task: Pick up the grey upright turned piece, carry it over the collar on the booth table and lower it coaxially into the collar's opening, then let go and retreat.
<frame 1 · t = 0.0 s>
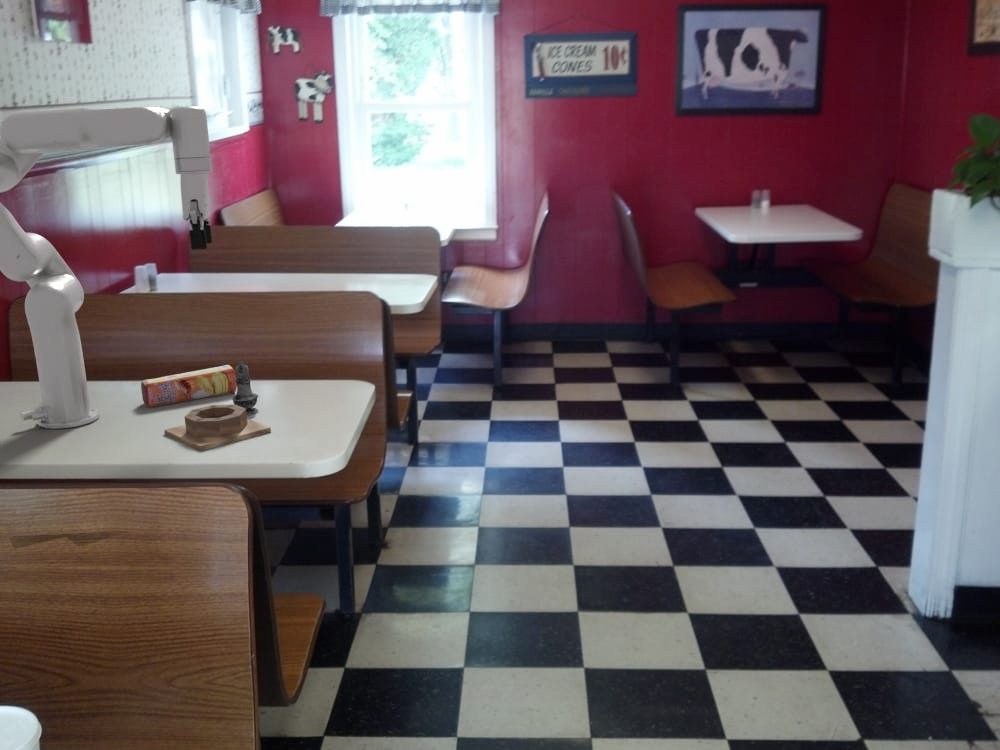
hand: (202, 246, 221), 37 cm above the table, tool pointing down, fingers open, 9 cm apart
collar: (217, 433, 214), on the table
snack package: (191, 400, 241), on the table
grey upright turned piece: (246, 413, 228), on the table
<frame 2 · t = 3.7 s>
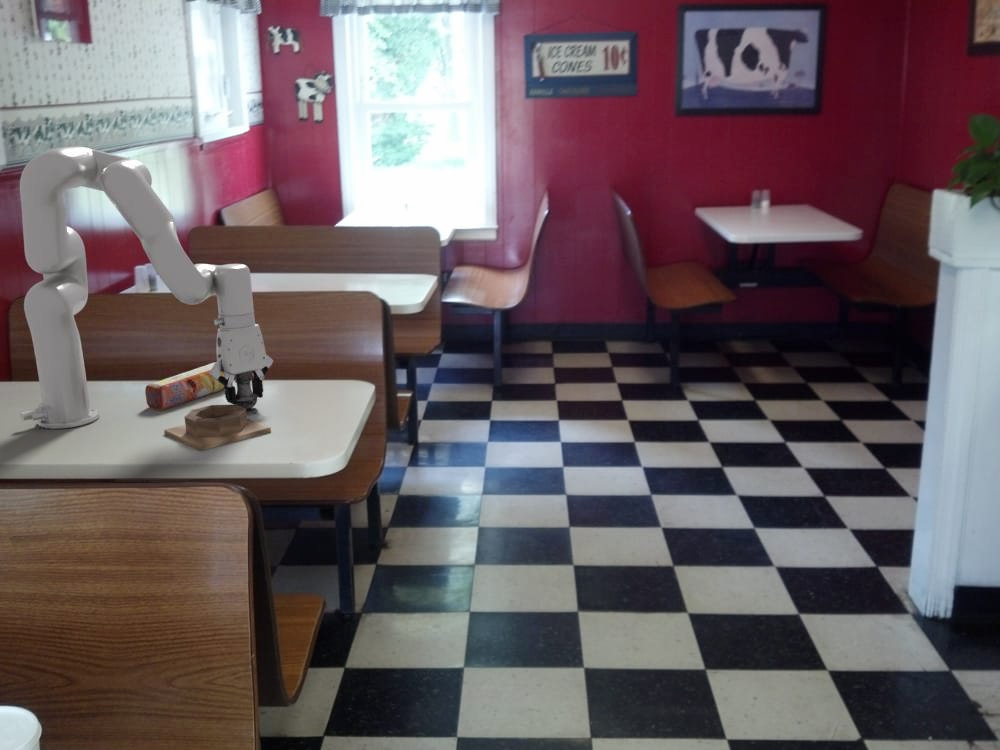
hand: (245, 398, 228), 3 cm above the table, tool pointing down, fingers closed on grey upright turned piece, 5 cm apart
grey upright turned piece: (246, 412, 228), on the table, touching gripper
when the fingers open (5 cm above the table, at t = 9.5 s): grey upright turned piece drops 1 cm, resting on collar.
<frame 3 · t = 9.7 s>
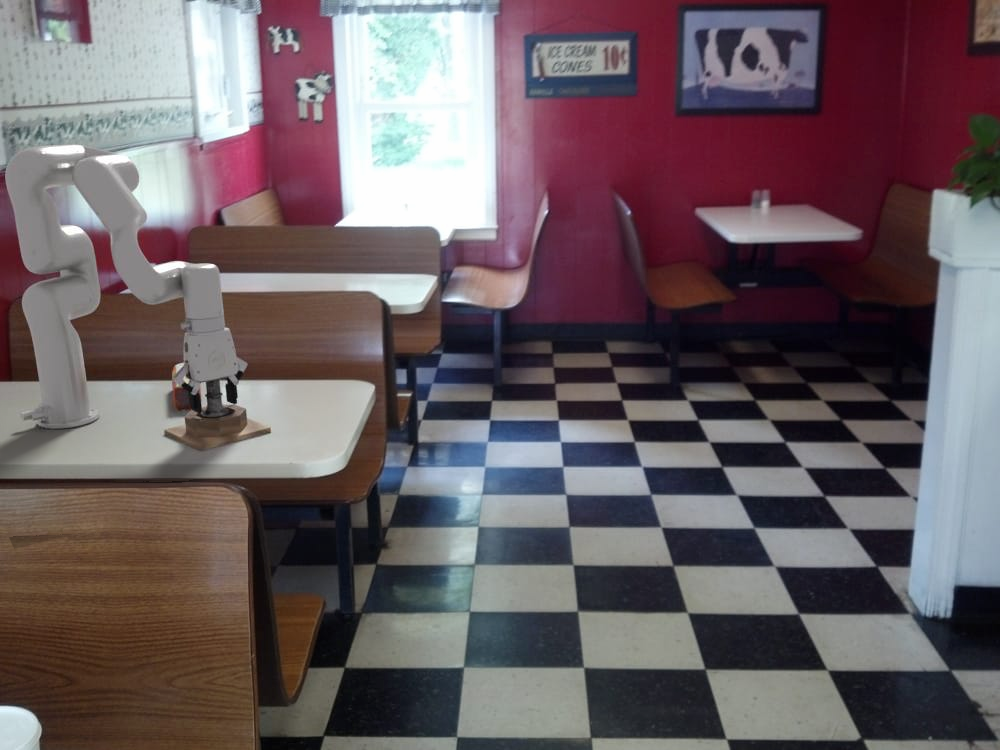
hand: (214, 406, 213), 6 cm above the table, tool pointing down, fingers open, 7 cm apart
grey upright turned piece: (216, 429, 214), point 1 cm above the table, touching collar
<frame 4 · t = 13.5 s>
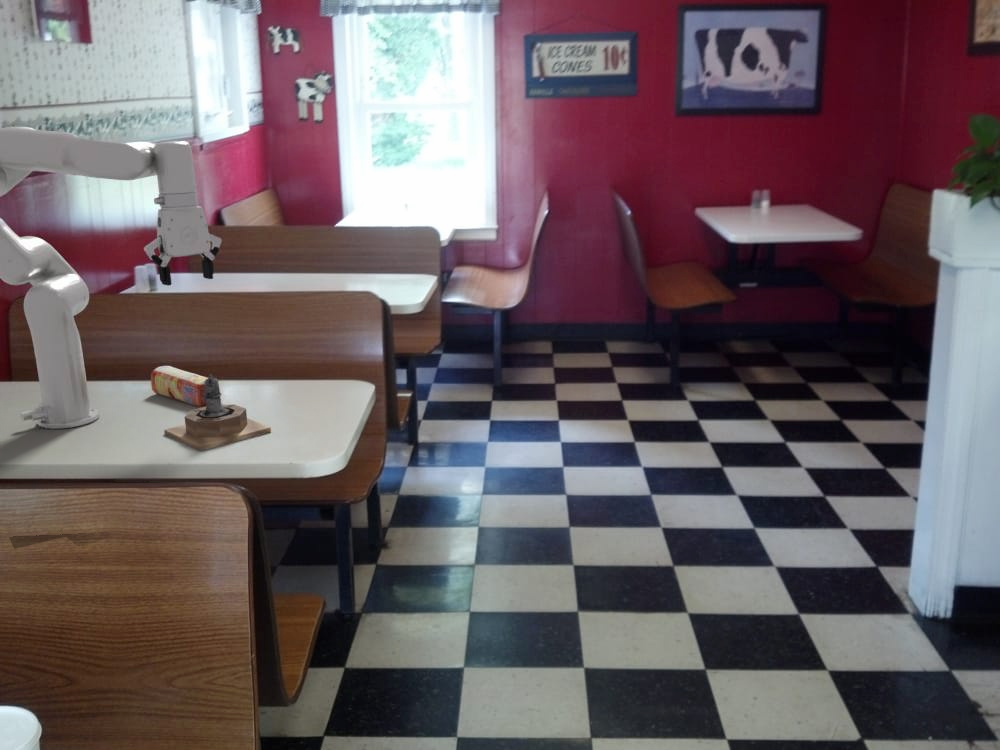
hand: (187, 281, 219), 30 cm above the table, tool pointing down, fingers open, 9 cm apart
at the end: grey upright turned piece 0.1 cm off-centre on the collar, point 0.8 cm above the collar's base; grey upright turned piece tilted 0°; the gripper is holding nothing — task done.
